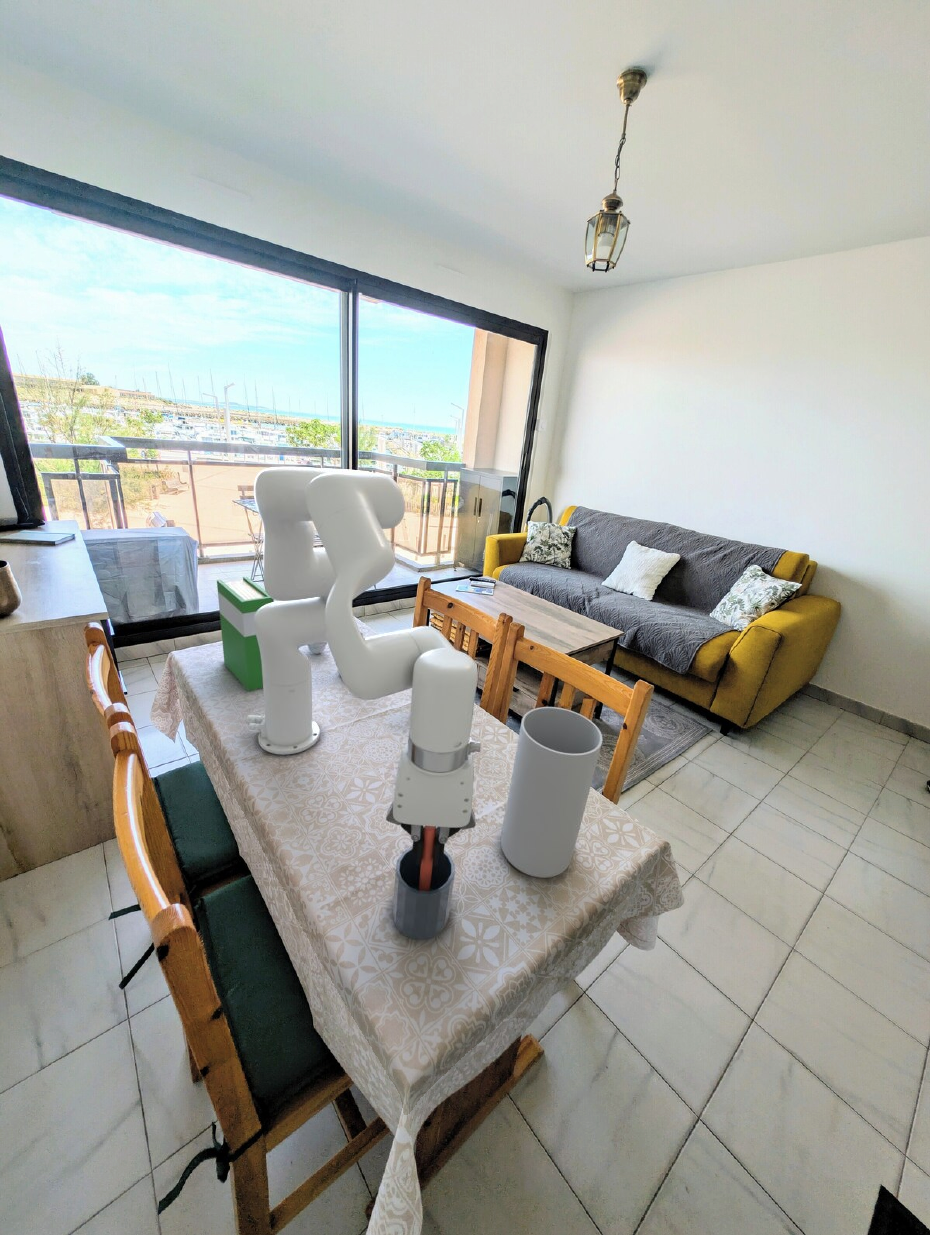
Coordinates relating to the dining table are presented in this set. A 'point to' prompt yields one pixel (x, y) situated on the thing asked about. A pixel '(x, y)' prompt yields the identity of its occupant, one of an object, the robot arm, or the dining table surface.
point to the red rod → (427, 858)
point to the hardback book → (242, 629)
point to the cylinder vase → (549, 789)
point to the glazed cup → (422, 896)
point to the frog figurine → (317, 647)
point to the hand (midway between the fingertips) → (427, 855)
